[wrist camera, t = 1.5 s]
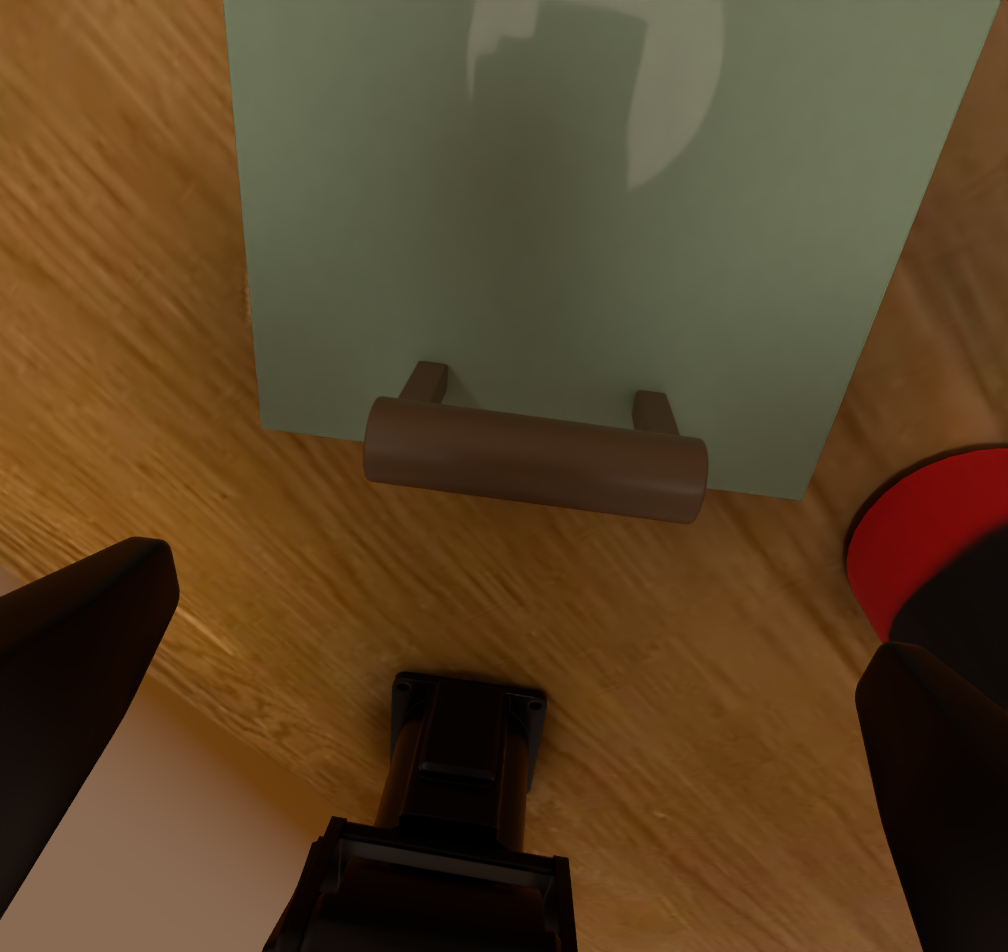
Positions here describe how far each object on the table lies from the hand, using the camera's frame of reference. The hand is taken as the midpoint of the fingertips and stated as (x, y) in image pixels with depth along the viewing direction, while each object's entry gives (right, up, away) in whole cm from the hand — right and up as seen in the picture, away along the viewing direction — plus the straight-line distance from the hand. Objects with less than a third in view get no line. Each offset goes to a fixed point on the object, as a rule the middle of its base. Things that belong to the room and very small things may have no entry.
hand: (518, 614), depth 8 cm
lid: (+1, +8, +5) cm, 9 cm away
